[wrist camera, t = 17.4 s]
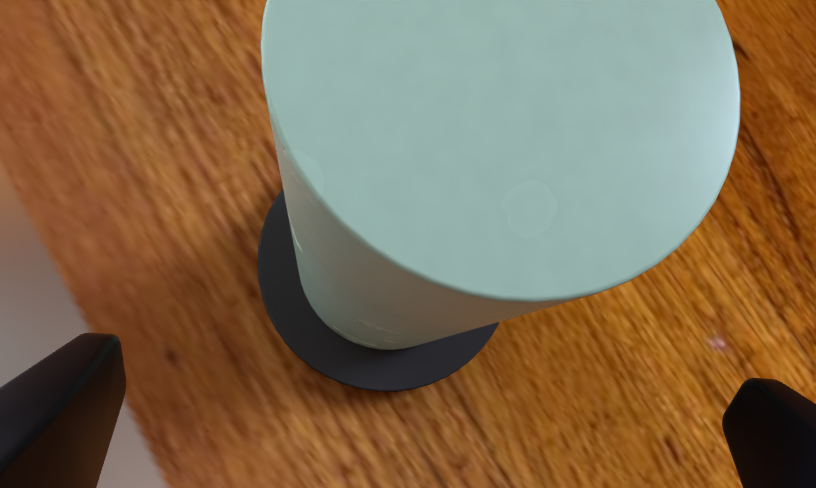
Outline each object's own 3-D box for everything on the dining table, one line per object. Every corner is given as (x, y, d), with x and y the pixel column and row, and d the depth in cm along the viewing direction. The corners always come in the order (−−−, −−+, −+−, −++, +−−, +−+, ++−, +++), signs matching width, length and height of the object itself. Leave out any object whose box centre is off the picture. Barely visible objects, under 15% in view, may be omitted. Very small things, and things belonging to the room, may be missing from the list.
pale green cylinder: (491, 334, 18) (801, 262, 6) (311, 364, 17) (294, 343, 5) (459, 164, 19) (675, -155, 8) (287, 183, 18) (232, -153, 7)
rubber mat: (394, 446, 18) (398, 450, 17) (206, 270, 18) (199, 264, 17) (548, 260, 20) (560, 254, 19) (377, 105, 20) (380, 91, 19)
